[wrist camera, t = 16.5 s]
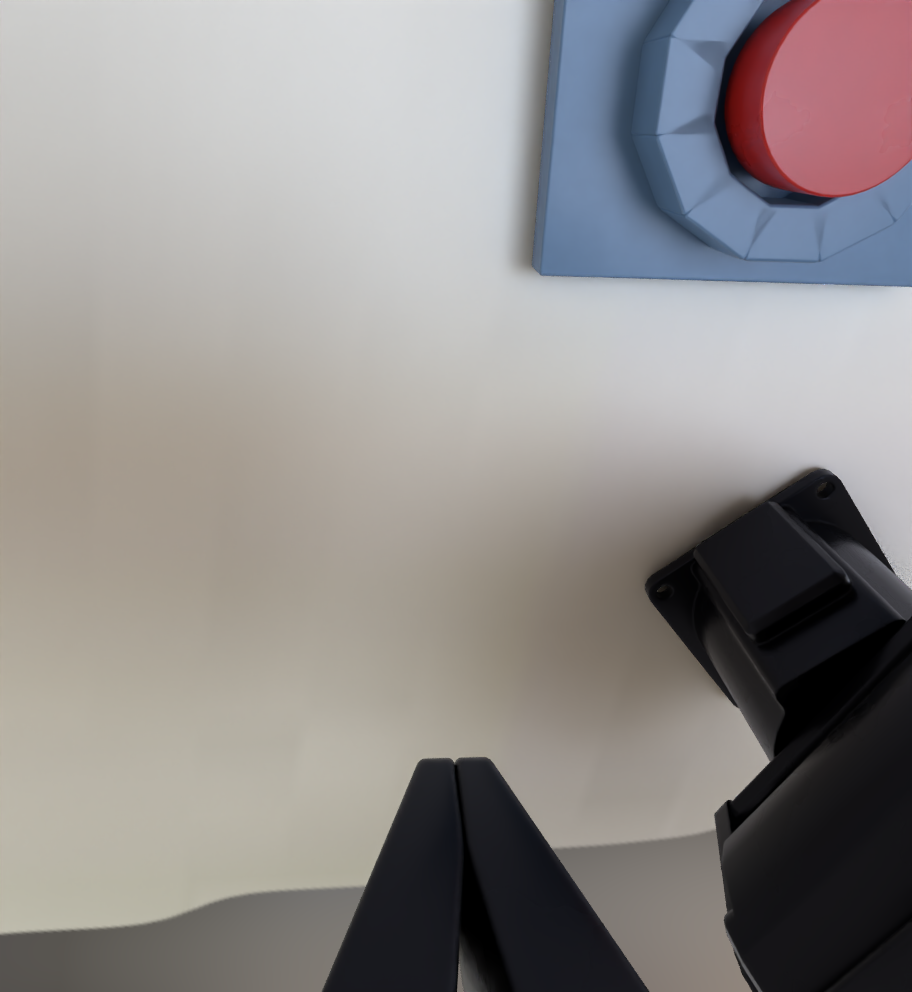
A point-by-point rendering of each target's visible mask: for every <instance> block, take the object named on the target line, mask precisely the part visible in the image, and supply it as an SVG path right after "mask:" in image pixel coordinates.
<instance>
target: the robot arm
mask: <svg viewBox="0 0 912 992" xmlns="http://www.w3.org/2000/svg"><path fill="white" fill-rule="evenodd" d="M826 482H827V485H826V487H825V488H824V489H823V490H822V491H819V492H817V489H818V487H819V486H820V485H821V484H823V483H826ZM662 586H668V588H667V589H666V590H665V591H663V592H657V590H658V589H659V588H660V587H662ZM645 591H646V593H647V595H648V597H649V599H650V601H651V602H652V603H653V605H654V606H655V607H656V608H657V610H658V611H659V612H660V613H661V615H662V616H663V617H664V618H665V620H666V621H667V622H668V624H669V625H670V626H671V627H672V629H673V630H674V631H675V632H676V634H677V635H678V636H679V637H680V639H681V640H682V641H683V642H684V644H685V645H686V646H687V647H688V649H689V650H690V651H691V652H692V654H693V655H694V656H695V657H696V659H697V660H698V661H699V662H700V664H701V665H702V666H703V667H704V669H705V670H706V671H707V672H708V674H709V675H710V676H711V677H712V679H713V680H714V681H715V682H716V684H717V685H718V686H719V687H720V689H721V690H722V691H723V692H724V694H725V695H726V696H727V697H728V699H729V700H730V701H731V702H732V704H733V705H734V706H736V707H738V708H739V709H740V711H741V712H742V714H743V716H744V718H745V719H746V721H747V723H748V724H749V726H750V728H751V730H752V731H753V733H754V735H755V736H756V738H757V740H758V741H759V743H760V745H761V747H762V748H763V750H764V752H765V753H766V755H767V757H768V759H769V760H770V763H769V764H768V765H767V766H766V767H765V768H764V769H763V770H762V771H761V772H760V773H759V774H758V775H757V776H756V777H755V778H754V779H753V780H752V781H751V782H750V783H749V784H748V785H747V787H746V788H745V789H744V790H743V791H742V792H741V793H740V794H739V795H738V796H737V797H736V798H735V799H734V800H733V801H732V800H727V801H726V802H725V803H724V804H723V805H722V806H721V807H720V808H719V809H718V811H717V812H716V813H715V815H714V816H715V824H716V831H717V839H718V846H719V854H720V861H721V870H722V876H723V884H724V892H725V899H726V907H727V914H726V915H725V917H724V923H725V928H726V933H727V936H728V938H729V940H730V942H731V944H732V946H733V949H734V953H735V956H736V959H737V961H738V964H739V966H740V969H741V973H742V975H743V977H744V978H745V980H746V981H747V983H748V985H749V986H750V988H751V990H752V992H912V589H910V588H909V587H908V586H907V585H906V584H905V583H904V582H903V581H902V580H901V579H899V578H898V577H897V576H896V574H895V573H894V571H893V569H892V567H891V566H890V564H889V562H888V561H887V559H886V557H885V555H884V554H883V552H882V550H881V549H880V547H879V545H878V543H877V542H876V540H875V538H874V536H873V535H872V533H871V531H870V530H869V528H868V526H867V524H866V523H865V521H864V519H863V518H862V516H861V514H860V512H859V511H858V509H857V507H856V506H855V504H854V502H853V500H852V499H851V497H850V495H849V494H848V492H847V490H846V488H845V487H844V485H843V483H842V482H841V480H840V479H839V478H838V477H837V476H836V475H834V474H833V473H832V472H831V471H829V470H826V469H819V470H816V471H814V472H811V473H810V474H808V475H807V476H805V477H804V478H802V479H800V480H799V481H797V482H796V483H794V484H793V485H791V486H790V487H788V488H787V489H785V490H783V491H782V492H780V493H779V494H777V495H776V496H774V497H773V498H771V499H770V500H768V501H766V502H764V503H762V504H761V505H759V506H758V507H756V508H755V509H753V510H752V511H750V512H748V513H747V514H745V515H744V516H742V517H741V518H739V519H738V520H736V521H735V522H733V523H731V524H730V525H728V526H727V527H725V528H724V529H722V530H721V531H719V532H718V533H716V534H714V535H713V536H711V537H710V538H708V539H707V540H705V541H704V542H702V543H701V544H699V545H698V546H697V547H695V548H694V549H692V550H691V551H689V552H687V553H686V554H684V555H683V556H681V557H680V558H678V559H677V560H675V561H674V562H672V563H670V564H669V565H667V566H666V567H664V568H663V569H661V570H660V571H658V572H656V573H655V574H653V575H652V576H651V577H650V578H649V579H648V580H647V582H646V584H645ZM459 963H460V971H461V977H462V985H463V991H464V992H649V991H648V989H647V987H646V986H645V985H644V983H643V982H642V980H641V979H640V977H639V976H638V974H637V973H636V971H635V970H634V968H633V967H632V966H631V964H630V963H629V961H628V960H627V958H626V957H625V956H624V954H623V952H622V951H621V949H620V948H619V946H618V945H617V944H616V942H615V941H614V939H613V938H612V936H611V935H610V933H609V932H608V930H607V929H606V928H605V926H604V924H603V923H602V922H601V920H600V919H599V917H598V916H597V914H596V913H595V911H594V910H593V908H592V907H591V905H590V904H589V903H588V901H587V900H586V898H585V897H584V895H583V894H582V892H581V891H580V889H579V888H578V886H577V885H576V883H575V882H574V881H573V879H572V878H571V876H570V875H569V873H568V872H567V871H566V869H565V867H564V866H563V864H562V863H561V862H560V860H559V859H558V857H557V856H556V854H555V853H554V851H553V850H552V848H551V847H550V845H549V844H548V842H547V841H546V840H545V838H544V837H543V835H542V834H541V832H540V831H539V829H538V828H537V826H536V825H535V823H534V822H533V820H532V819H531V818H530V816H529V815H528V813H527V812H526V810H525V809H524V807H523V806H522V804H521V803H520V801H519V800H518V799H517V797H516V796H515V794H514V793H513V791H512V790H511V788H510V787H509V785H508V784H507V782H506V781H505V779H504V778H503V777H502V775H501V774H500V772H499V771H498V769H497V768H496V766H495V765H494V763H493V762H492V761H491V760H490V759H488V758H487V757H469V758H459V759H457V760H456V762H455V764H454V762H453V760H452V759H450V758H428V759H422V760H420V761H419V762H418V764H417V766H416V768H415V771H414V773H413V776H412V778H411V780H410V783H409V785H408V787H407V790H406V792H405V795H404V797H403V799H402V802H401V804H400V807H399V809H398V811H397V814H396V816H395V818H394V821H393V823H392V826H391V828H390V830H389V833H388V835H387V838H386V840H385V842H384V845H383V847H382V849H381V852H380V854H379V857H378V859H377V861H376V864H375V866H374V868H373V871H372V873H371V876H370V878H369V880H368V883H367V885H366V888H365V890H364V892H363V895H362V897H361V899H360V902H359V904H358V907H357V909H356V911H355V914H354V916H353V919H352V921H351V923H350V926H349V928H348V931H347V933H346V935H345V938H344V940H343V942H342V945H341V947H340V950H339V952H338V955H337V957H336V959H335V962H334V964H333V966H332V969H331V971H330V974H329V976H328V978H327V980H326V983H325V985H324V988H323V990H322V992H457V981H458V964H459Z"/></svg>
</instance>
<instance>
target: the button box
mask: <svg viewBox="0 0 912 992" xmlns="http://www.w3.org/2000/svg"><path fill="white" fill-rule="evenodd" d="M789 1H791V0H554V11H553V23H552V35H551V47H550V59H549V70H548V82H547V94H546V106H545V118H544V129H543V141H542V153H541V165H540V177H539V189H538V200H537V212H536V224H535V236H534V248H533V259H532V267H533V268H534V269H535V270H536V271H537V272H538V273H539V274H540V275H542V276H573V277H606V278H639V279H671V280H704V281H737V282H770V283H802V284H835V285H868V286H901V287H912V160H911V161H910V162H909V163H908V164H907V165H905V166H904V167H903V168H902V169H901V170H900V171H899V172H897V173H896V174H895V175H893V176H892V177H891V178H889V179H888V180H886V181H884V182H883V183H881V184H879V185H878V186H876V187H874V188H871V189H869V190H867V191H865V192H861V193H858V194H855V195H851V196H845V197H831V198H829V197H820V196H814V195H809V194H803V193H798V192H792V191H787V190H781V189H777V188H774V187H770V186H768V185H766V184H763V183H761V182H760V181H758V180H757V179H755V178H754V177H752V176H751V175H750V174H749V173H748V172H747V171H746V170H745V169H744V168H743V167H742V165H741V164H740V163H739V161H738V160H737V158H736V156H735V155H734V153H733V151H732V148H731V146H730V143H729V140H728V136H727V132H726V126H725V97H726V90H727V86H728V81H729V77H730V75H731V72H732V69H733V66H734V64H735V61H736V59H737V57H738V55H739V53H740V51H741V50H742V48H743V46H744V45H745V43H746V41H747V40H748V38H749V37H750V36H751V34H752V33H753V32H754V31H755V29H756V28H757V27H758V26H759V25H760V24H761V23H762V22H763V21H764V20H765V19H766V18H767V17H768V16H769V15H770V14H772V13H773V12H774V11H775V10H777V9H778V8H780V7H781V6H783V5H784V4H786V3H787V2H789Z"/></svg>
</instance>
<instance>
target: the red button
mask: <svg viewBox="0 0 912 992" xmlns="http://www.w3.org/2000/svg"><path fill="white" fill-rule="evenodd" d="M725 126H726V132H727V136H728V140H729V143H730V146H731V148H732V151H733V153H734V155H735V156H736V158H737V160H738V161H739V163H740V164H741V165H742V167H743V168H744V169H745V170H746V171H747V172H748V173H749V174H750V175H751V176H752V177H754V178H755V179H757V180H758V181H760V182H761V183H763V184H766V185H768V186H770V187H774V188H777V189H781V190H787V191H792V192H798V193H803V194H809V195H814V196H820V197H829V198H831V197H845V196H851V195H855V194H858V193H861V192H865V191H867V190H869V189H871V188H874V187H876V186H878V185H879V184H881V183H883V182H884V181H886V180H888V179H889V178H891V177H892V176H893V175H895V174H896V173H897V172H899V171H900V170H901V169H902V168H903V167H904V166H905V165H907V164H908V163H909V162H910V161H911V160H912V0H791V1H789V2H787V3H786V4H784V5H783V6H781V7H780V8H778V9H777V10H775V11H774V12H773V13H772V14H770V15H769V16H768V17H767V18H766V19H765V20H764V21H763V22H762V23H761V24H760V25H759V26H758V27H757V28H756V29H755V31H754V32H753V33H752V34H751V36H750V37H749V38H748V40H747V41H746V43H745V45H744V46H743V48H742V50H741V51H740V53H739V55H738V57H737V59H736V61H735V64H734V66H733V69H732V72H731V75H730V77H729V81H728V86H727V90H726V97H725Z"/></svg>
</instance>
